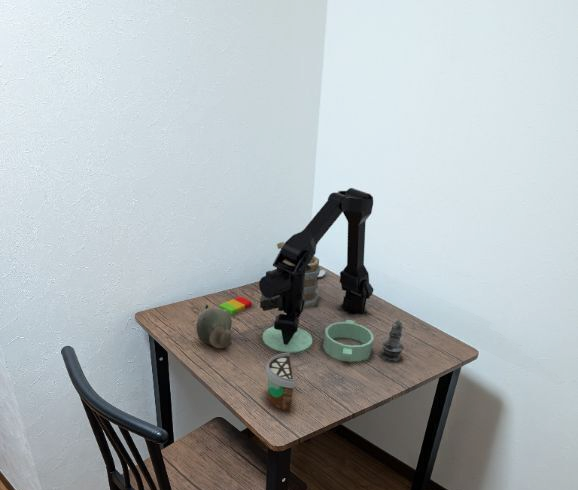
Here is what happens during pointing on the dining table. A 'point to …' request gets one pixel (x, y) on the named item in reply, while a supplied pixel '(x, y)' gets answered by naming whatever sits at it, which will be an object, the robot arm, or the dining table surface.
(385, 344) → the dark grey tall piece
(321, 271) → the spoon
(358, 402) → the dining table surface
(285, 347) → the pot lid
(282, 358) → the food container
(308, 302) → the tankard
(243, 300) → the popsicle
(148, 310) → the dining table surface
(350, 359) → the pot
